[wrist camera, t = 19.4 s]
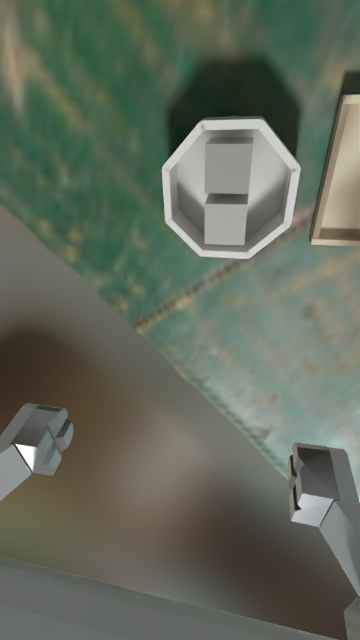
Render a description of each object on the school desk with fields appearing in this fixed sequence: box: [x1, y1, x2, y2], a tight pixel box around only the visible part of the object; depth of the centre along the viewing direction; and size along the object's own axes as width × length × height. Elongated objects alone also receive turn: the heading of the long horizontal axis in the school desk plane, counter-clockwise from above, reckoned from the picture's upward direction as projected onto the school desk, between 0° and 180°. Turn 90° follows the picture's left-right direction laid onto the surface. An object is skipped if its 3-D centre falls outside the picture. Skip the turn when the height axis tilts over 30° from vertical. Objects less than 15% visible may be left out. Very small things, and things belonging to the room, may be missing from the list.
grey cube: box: [205, 192, 249, 245], centre depth 32 cm, size 4×4×4 cm
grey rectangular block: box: [204, 137, 253, 194], centre depth 29 cm, size 4×4×4 cm
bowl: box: [162, 116, 301, 259], centre depth 31 cm, size 12×12×4 cm
